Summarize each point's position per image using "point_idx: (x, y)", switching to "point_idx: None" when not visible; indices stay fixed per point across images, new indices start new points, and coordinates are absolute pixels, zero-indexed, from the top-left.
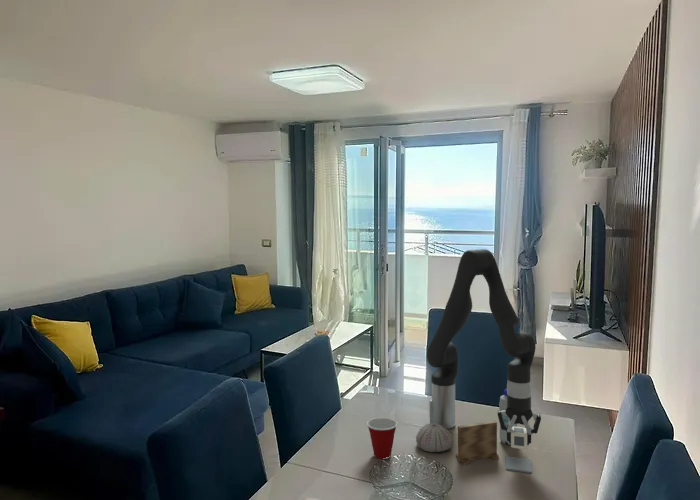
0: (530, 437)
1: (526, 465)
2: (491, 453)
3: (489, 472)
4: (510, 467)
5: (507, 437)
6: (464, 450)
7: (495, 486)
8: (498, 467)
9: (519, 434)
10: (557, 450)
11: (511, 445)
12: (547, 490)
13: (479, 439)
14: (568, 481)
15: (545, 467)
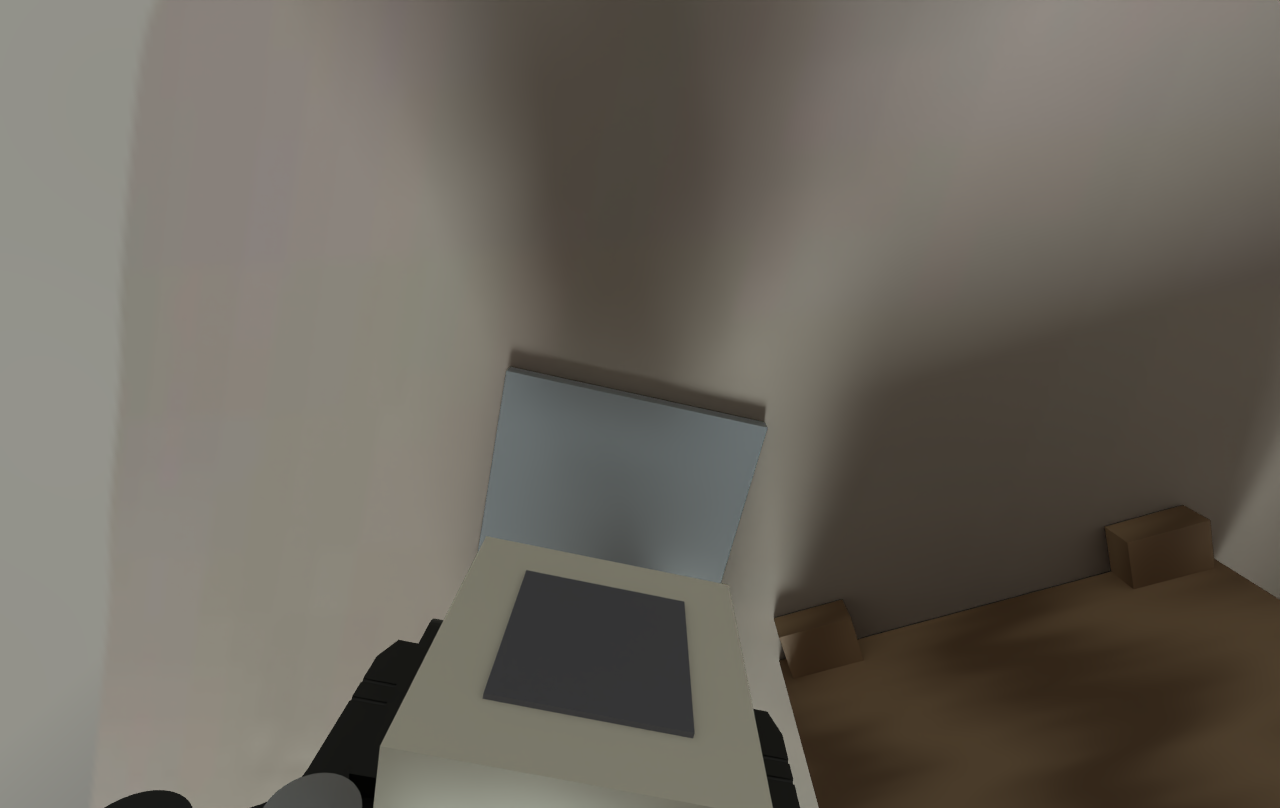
0: (347, 730)
1: (535, 488)
2: (845, 668)
3: (956, 365)
4: (712, 444)
5: (776, 765)
6: (1248, 640)
7: (991, 70)
8: (827, 463)
9: (573, 763)
10: (200, 753)
11: (725, 605)
12: (408, 21)
13: (1111, 792)
14: (156, 231)
15: (351, 482)
